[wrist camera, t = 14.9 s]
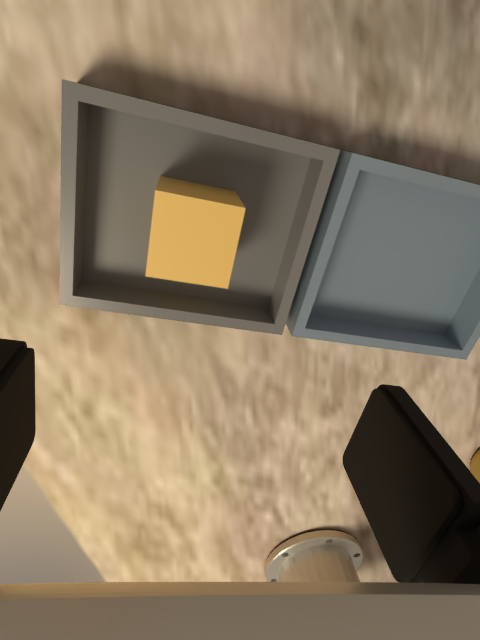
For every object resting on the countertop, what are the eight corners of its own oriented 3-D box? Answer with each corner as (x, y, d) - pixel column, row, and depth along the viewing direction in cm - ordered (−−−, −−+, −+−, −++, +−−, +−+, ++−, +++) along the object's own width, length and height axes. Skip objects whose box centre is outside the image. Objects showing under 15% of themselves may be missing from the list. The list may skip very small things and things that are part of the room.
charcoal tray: (273, 316, 31) (281, 334, 29) (71, 286, 28) (59, 304, 25) (324, 145, 26) (340, 149, 23) (76, 82, 22) (62, 79, 20)
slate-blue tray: (444, 340, 35) (466, 359, 32) (283, 317, 32) (291, 336, 29) (523, 196, 29) (557, 204, 26) (335, 148, 26) (352, 152, 23)
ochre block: (221, 260, 28) (227, 288, 24) (151, 249, 27) (145, 276, 23) (235, 191, 26) (245, 208, 21) (160, 175, 25) (155, 190, 20)
